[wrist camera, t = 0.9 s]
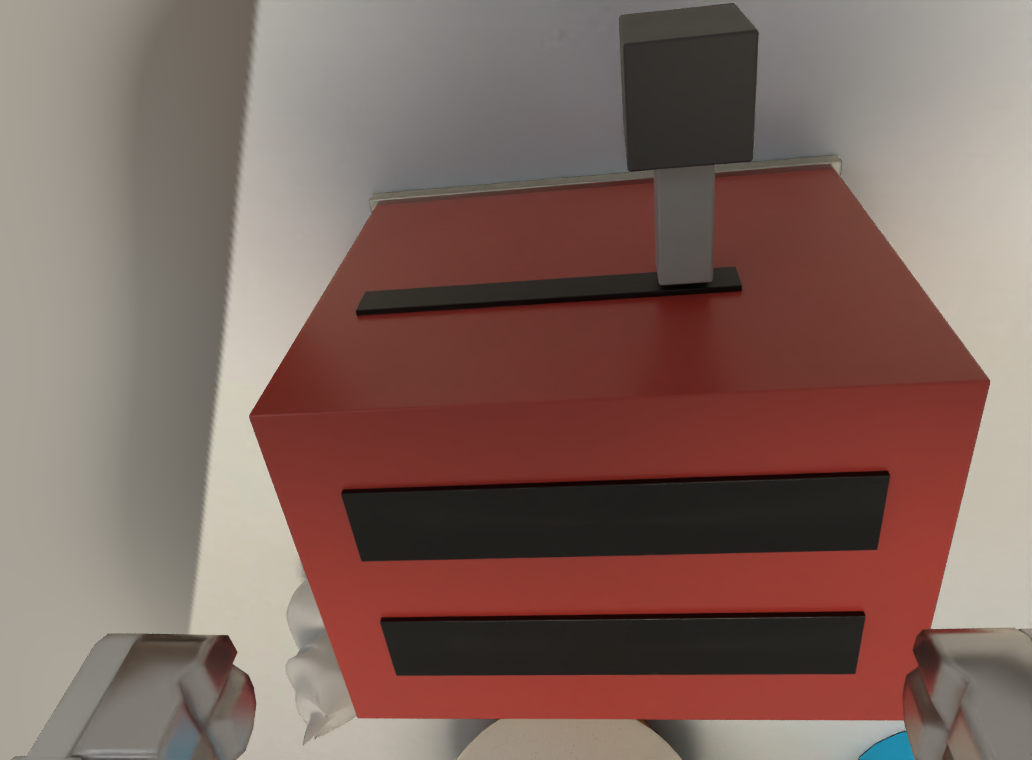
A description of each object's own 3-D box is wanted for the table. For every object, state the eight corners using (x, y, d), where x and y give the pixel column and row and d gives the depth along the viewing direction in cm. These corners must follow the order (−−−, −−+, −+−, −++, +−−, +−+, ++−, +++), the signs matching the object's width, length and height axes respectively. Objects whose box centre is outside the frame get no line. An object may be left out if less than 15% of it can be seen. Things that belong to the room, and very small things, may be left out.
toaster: (372, 193, 26) (232, 412, 16) (837, 154, 24) (1010, 375, 14) (428, 447, 32) (350, 729, 22) (809, 432, 30) (918, 732, 20)
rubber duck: (321, 523, 35) (256, 685, 28) (465, 574, 36) (435, 742, 29) (290, 600, 37) (224, 763, 31) (424, 645, 38) (388, 813, 32)
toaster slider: (618, 14, 17) (622, 43, 15) (735, 1, 17) (759, 29, 14) (628, 249, 20) (633, 307, 18) (727, 242, 20) (747, 300, 17)
